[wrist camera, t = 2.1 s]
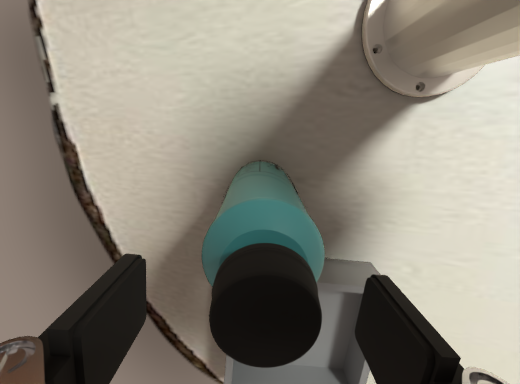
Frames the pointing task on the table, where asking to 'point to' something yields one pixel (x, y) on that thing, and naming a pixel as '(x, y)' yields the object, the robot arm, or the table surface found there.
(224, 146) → the table surface
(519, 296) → the table surface
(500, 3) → the robot arm
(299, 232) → the beverage bottle
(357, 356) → the bin
